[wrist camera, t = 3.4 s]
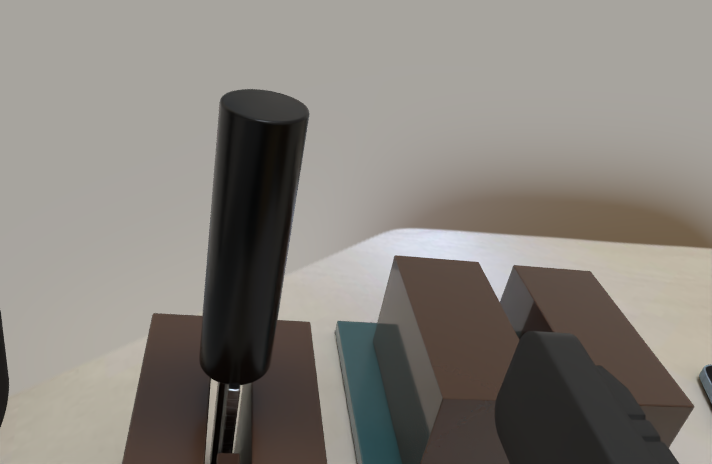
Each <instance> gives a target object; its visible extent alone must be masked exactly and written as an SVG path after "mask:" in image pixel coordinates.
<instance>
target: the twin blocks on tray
mask: <svg viewBox="0 0 712 464" xmlns="http://www.w3.org/2000/svg"><path fill="white" fill-rule="evenodd" d="M527 331H538V332H556V333H570V334H573V335H575V336H576V337H577V338H578V339H579V341H580V342H581V344H582V345H583V347H584V348H585V350H586V351H587V353H588V355H589V356H590V358H591V359H592V361H593V362H594V364H595V365H600V366H603V367H604V368H605V369H606V370H607V371H608V372H610V373H611V374H612V375H613V376H614V377H615V378H616V379H618V380H619V381H620V382H621V383H622V384H623V385H624V386H626V387H627V388H628V389H629V391H630V392H631V394H632V395H633V397H634V398H635V400H636V401H637V403H638V404H639V405H640V407H641V408H642V410H643V411H644V413H645V414H646V416H645V418H646V420H650V422H651V423H652V425H653V426H654V428H655V429H656V431H657V432H658V433H659V435H660V436H661V437H660V441H661V442H665V444H666V445H667V447H668V448H669V447H670V445H671V444H672V442H673V440H674V439H675V437H676V436H677V434H678V432H679V431H680V429H681V428H682V426H683V424H684V423H685V421H686V420H687V418H688V416H689V415H690V413H691V412H692V410H693V408H694V405H693V404H692V402H691V401H690V400H689V399H688V397H687V396H686V395H685V393H684V392H683V391H682V389H681V388H680V387H679V386H678V384H677V383H676V382H675V380H674V379H673V378H672V376H671V375H670V374H669V373H668V371H667V370H666V369H665V367H664V366H663V365H662V364H661V362H660V361H659V360H658V358H657V357H656V356H655V354H654V353H653V352H652V351H651V349H650V348H649V347H648V345H647V344H646V343H645V341H644V340H643V339H642V338H641V336H640V335H639V334H638V332H637V331H636V330H635V328H634V327H633V326H632V325H631V323H630V322H629V321H628V319H627V318H626V317H625V316H624V314H623V313H622V312H621V310H620V309H619V308H618V306H617V305H616V304H615V303H614V301H613V300H612V299H611V297H610V296H609V295H608V293H607V292H606V291H605V290H604V288H603V287H602V286H601V284H600V283H599V282H598V281H597V279H596V278H595V277H594V275H593V274H592V273H591V272H590V271H580V270H567V269H555V268H542V267H530V266H517V265H514V266H513V268H512V271H511V274H510V276H509V279H508V282H507V284H506V287H505V290H504V293H503V295H502V298H501V301H500V302H499V300H498V298H497V296H496V295H495V293H494V291H493V289H492V287H491V285H490V283H489V281H488V279H487V277H486V276H485V274H484V272H483V270H482V268H481V266H480V264H479V262H470V261H458V260H445V259H433V258H420V257H408V256H394V260H393V264H392V268H391V272H390V276H389V280H388V283H387V287H386V291H385V295H384V299H383V303H382V307H381V311H380V315H379V319H378V323H367V322H349V321H337V325H336V330H335V333H336V339H337V345H338V351H339V357H340V363H341V369H342V375H343V381H344V387H345V392H346V398H347V404H348V410H349V416H350V422H351V428H352V434H353V440H354V446H355V452H356V458H357V464H510V463H509V461H508V458H507V456H506V454H505V451H504V449H503V446H502V444H501V441H500V439H499V436H498V434H497V430H496V425H495V403H496V398H497V395H498V393H499V390H500V388H501V385H502V383H503V380H504V378H505V375H506V373H507V370H508V368H509V365H510V363H511V360H512V358H513V355H514V353H515V350H516V348H517V345H518V343H519V340H520V338H521V337H522V335H523V334H524V333H526V332H527Z"/></svg>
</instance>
